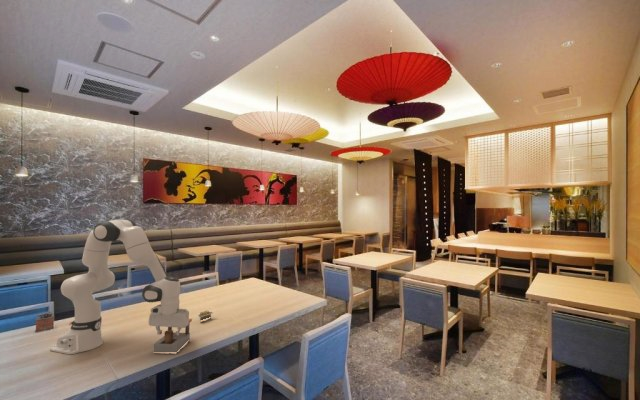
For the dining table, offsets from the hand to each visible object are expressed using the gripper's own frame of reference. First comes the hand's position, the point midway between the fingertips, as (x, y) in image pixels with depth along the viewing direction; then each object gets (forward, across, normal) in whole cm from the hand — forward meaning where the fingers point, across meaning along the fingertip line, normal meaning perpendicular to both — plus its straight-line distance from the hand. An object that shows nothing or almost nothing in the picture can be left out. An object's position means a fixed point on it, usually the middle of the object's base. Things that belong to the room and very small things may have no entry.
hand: (168, 334), depth 152 cm
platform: (+9, -2, -41) cm, 42 cm away
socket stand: (+8, -1, -3) cm, 9 cm away
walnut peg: (+8, -1, 0) cm, 8 cm away
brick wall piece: (+10, +86, -19) cm, 89 cm away
